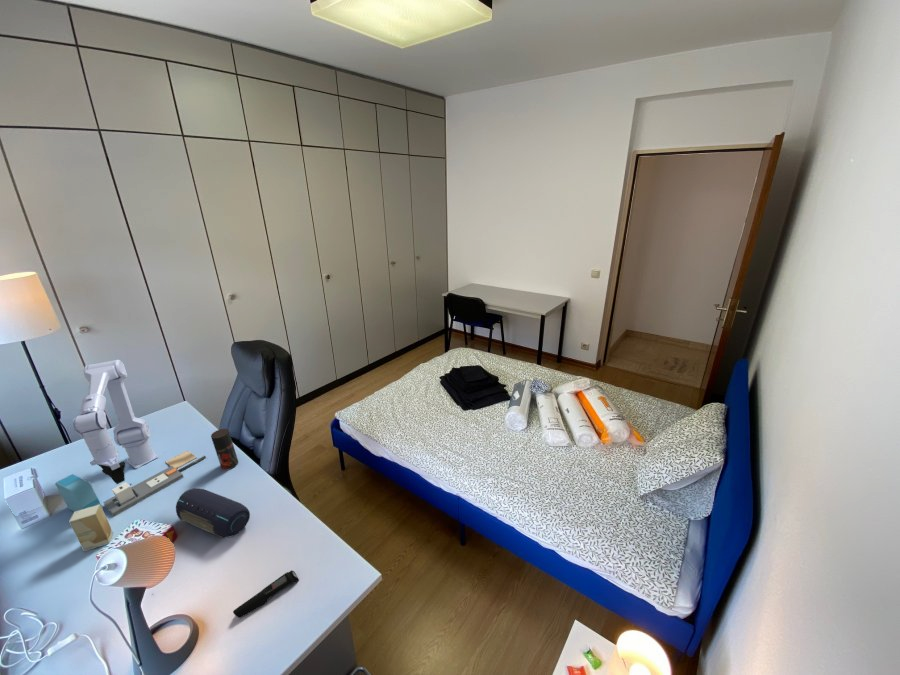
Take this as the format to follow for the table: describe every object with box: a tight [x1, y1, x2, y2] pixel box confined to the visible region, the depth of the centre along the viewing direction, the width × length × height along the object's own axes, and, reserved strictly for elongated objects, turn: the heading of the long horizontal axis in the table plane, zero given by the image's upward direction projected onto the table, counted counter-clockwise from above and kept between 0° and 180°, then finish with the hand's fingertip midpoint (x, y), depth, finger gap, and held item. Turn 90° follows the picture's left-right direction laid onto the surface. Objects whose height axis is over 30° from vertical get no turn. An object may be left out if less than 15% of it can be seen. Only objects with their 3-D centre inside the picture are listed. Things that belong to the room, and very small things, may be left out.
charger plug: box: [111, 481, 137, 506], centre depth 126 cm, size 4×4×6 cm
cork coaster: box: [165, 450, 198, 470], centre depth 146 cm, size 8×8×1 cm
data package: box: [55, 474, 103, 513], centre depth 122 cm, size 12×4×12 cm, turn 67°
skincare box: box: [68, 504, 114, 552], centre depth 110 cm, size 6×4×12 cm
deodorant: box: [210, 428, 239, 471], centre depth 141 cm, size 6×6×15 cm
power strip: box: [103, 455, 207, 517], centre depth 135 cm, size 9×31×2 cm, turn 147°
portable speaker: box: [175, 487, 251, 538], centre depth 116 cm, size 25×10×10 cm, turn 68°
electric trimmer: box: [232, 570, 300, 619], centre depth 95 cm, size 4×16×3 cm, turn 133°
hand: (116, 477), depth 124 cm, fingers open, 7 cm apart
